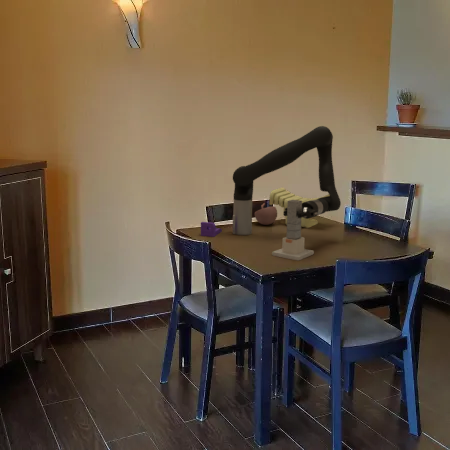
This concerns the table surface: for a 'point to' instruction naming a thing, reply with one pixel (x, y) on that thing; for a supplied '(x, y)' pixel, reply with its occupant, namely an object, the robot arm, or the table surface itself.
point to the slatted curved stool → (282, 199)
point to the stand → (293, 249)
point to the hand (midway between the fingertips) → (291, 214)
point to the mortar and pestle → (266, 215)
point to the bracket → (209, 229)
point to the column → (294, 219)
